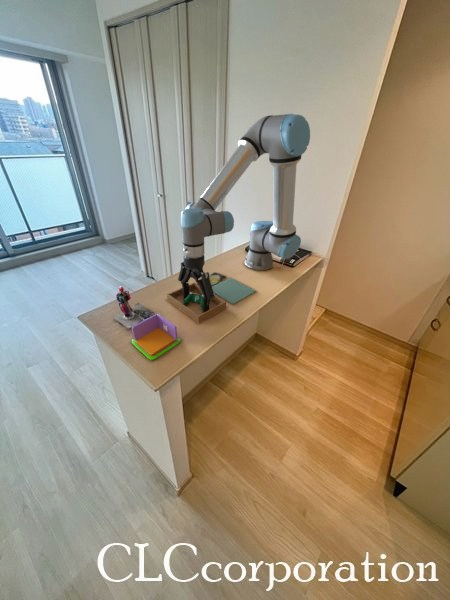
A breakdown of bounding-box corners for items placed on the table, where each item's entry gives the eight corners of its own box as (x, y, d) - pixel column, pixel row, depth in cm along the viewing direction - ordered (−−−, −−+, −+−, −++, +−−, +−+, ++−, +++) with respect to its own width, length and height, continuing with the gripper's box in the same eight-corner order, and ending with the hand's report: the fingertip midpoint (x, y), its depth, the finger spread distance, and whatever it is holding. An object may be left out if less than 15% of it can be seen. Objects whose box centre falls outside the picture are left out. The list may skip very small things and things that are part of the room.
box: (194, 288, 108) (194, 282, 106) (226, 307, 96) (226, 301, 94) (167, 300, 99) (166, 294, 97) (198, 323, 87) (198, 317, 86)
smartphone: (195, 284, 110) (214, 272, 120) (195, 285, 110) (214, 273, 120) (207, 289, 107) (226, 276, 117) (207, 290, 107) (226, 277, 117)
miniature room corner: (160, 325, 86) (158, 310, 82) (182, 341, 80) (180, 325, 76) (130, 342, 78) (126, 326, 74) (151, 361, 72) (148, 345, 68)
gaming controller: (206, 310, 97) (209, 296, 98) (203, 309, 93) (207, 294, 94) (185, 306, 99) (189, 292, 100) (182, 304, 95) (186, 290, 96)
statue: (130, 332, 84) (116, 300, 74) (115, 321, 89) (100, 289, 79) (154, 314, 91) (144, 283, 81) (139, 305, 95) (128, 274, 85)
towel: (230, 278, 116) (230, 277, 116) (256, 291, 107) (256, 290, 107) (207, 289, 107) (207, 288, 107) (233, 304, 98) (233, 303, 98)
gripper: (165, 247, 90) (171, 295, 102) (208, 269, 76) (208, 321, 88) (182, 242, 94) (185, 289, 106) (225, 262, 80) (223, 313, 93)
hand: (196, 303), depth 97 cm, fingers open, 12 cm apart
